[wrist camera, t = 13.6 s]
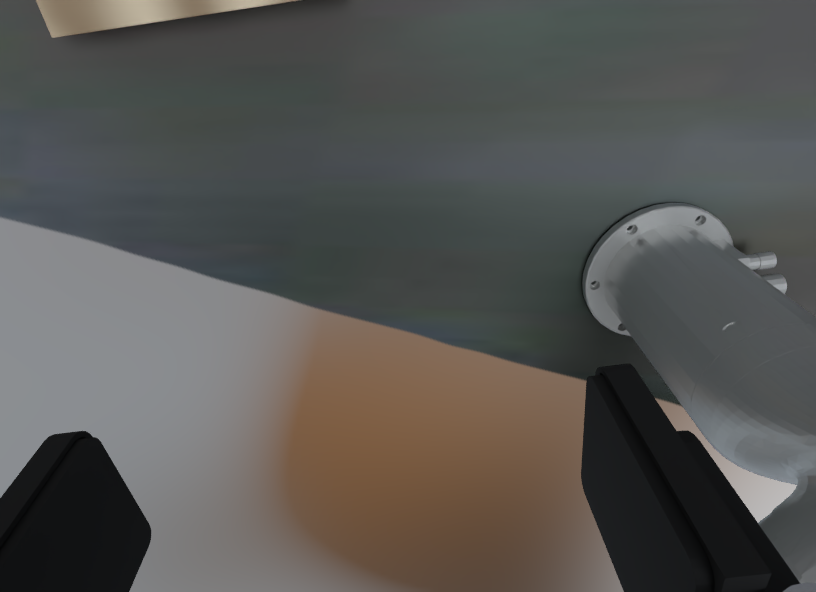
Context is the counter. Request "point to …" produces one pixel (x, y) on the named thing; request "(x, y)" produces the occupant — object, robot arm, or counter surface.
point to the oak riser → (130, 12)
